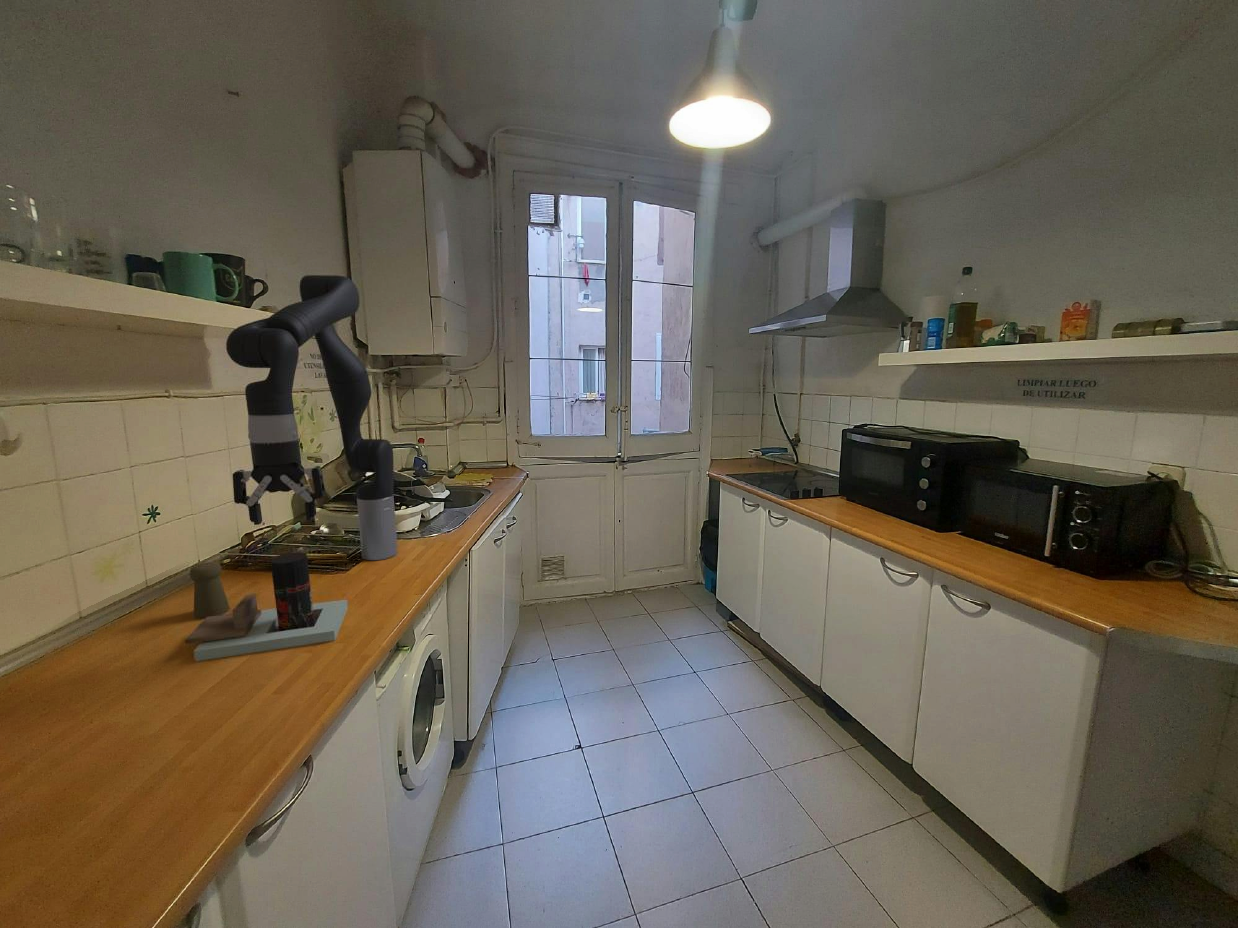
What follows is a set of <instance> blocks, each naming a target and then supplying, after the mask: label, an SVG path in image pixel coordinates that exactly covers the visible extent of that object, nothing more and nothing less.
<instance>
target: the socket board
mask: <svg viewBox="0 0 1238 928" xmlns="http://www.w3.org/2000/svg"><path fill="white" fill-rule="evenodd" d="M312 607H313V616H314V627H308V628H301V629H294V630H287V631H280V632H279V626H278V618H277V610H276V608H270V609H264V610H263V609H260V610H261V613H262V614H261V615H260V616H259V618H258V619H257V620H256V622H255V623H254V624H253V626H252V627H251V628H250V630H249V631H248V632H247V634H246V635H245V636H239V637H231V638H224V639H217V640H210V641H203V642H199V644H198V646H196V648H195V649H194V650H193V656H194V662H201V661H205V660H206V661H207V660H213V659H220V658H221V659H222V658H226V657H232V656H240V655H247V654H252V653H253V654H254V653H260V652H266V651H274V650H279V649H285V648H293V647H299V646H307V645H312V644H320V643H327V642H333V641H336V640H337V636H338V634H339V631H340V628H341V626H342V624H343V621H344V619H345V617H346V614H347V611H348V608H349V607H348V599H343V600H334V601H326V602H317V603H312Z"/></svg>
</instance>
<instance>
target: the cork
mask: <svg viewBox="0 0 1238 928" xmlns="http://www.w3.org/2000/svg"><path fill="white" fill-rule="evenodd" d="M222 572H223V569H222V566H221V564H220V563H219V562H218V561H217V562H216V561H206V562H205V561H204V562H201V563H197V564H195V565H194V566H192V567H191V568H190V570H189V577H190V579H191V580H192V581H193V582H194V583H193V584H194V585H193V587H194V592H193V618H194V619H195V620H204V619H205V618H206V617H209V616H217V615H225V614H227V613H228V612H229V611H230V609H231V607H230V605H229V602H228V599H227V596H226V593H225V590H224V587H223V583H222V581H221V577H220V576H221V575H222Z"/></svg>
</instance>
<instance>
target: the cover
mask: <svg viewBox="0 0 1238 928" xmlns="http://www.w3.org/2000/svg"><path fill="white" fill-rule="evenodd" d="M261 610H262V609H259V608H258V600H257V593H252V594H246V595H245V596H244V597H243V598H242V599H241V600H240V601H239V602H238V604H237V605H236V606H235V607H234V608H233V609H232V610H231V611H232V612H231V613H224V614H222V615H217V616H209V617H206V618H205V619H202V622H200V624H198V626H197V627H196V628H195V629H193V631H192V632H191V633H190V634H189V635H188V636H187V637H186V638H185V639H184V643H185V644H187V645H188V644H195V643H201V642H203V641H210V640H217V639H224V638H231V637H239V636H245V635H246V634H247V632H248V631H249V630H250V628H251V627H252V626H253V624H254V623H255V622H256V620H257V619H258V618H259V616H260V615H261V614H262V613H261Z"/></svg>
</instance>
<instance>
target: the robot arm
mask: <svg viewBox="0 0 1238 928" xmlns="http://www.w3.org/2000/svg"><path fill="white" fill-rule="evenodd" d="M299 293H300V294H299V296H300V299H301V301H297V302H295V303H291V304H288V305H287V306H285V307H283V308H281V309H278V310H277V311H276V312H274V313H273V314H272V315H270V316H269V317H266V318H262V319H258V320H255V321H251V322H247V323H245V324H243V325H241V326H238V327H236V328H235V329H233V330H232V331H231V332H230V333H229V335H228V336H227V339H226V343H225V348H226V353H227V355H228V357H229V358H230V359H231V360H232V362H234V363H235V364H237V365H238V366H240V367H243V368H247V369H248V368H249V369H269V372H268V375H267V377H266V378H265V379H262V380H258V381H253V382H250V383H248V384H247V385H246V387H245V388H244V391H245V392H244V393H245V401H246V408H247V409H246V410H247V417H248V418H247V420H248V421H247V431H248V432H247V433H248V434H247V437H248V440H249V446H250V454H251V462H252V470H244V469H238V470H237V471H235V472H233V473H232V483H233V484H232V486H233V487H232V489H233V502H234V503H235V504H238V505H239V504H242V505H245V506H247V509H248V516H249V521H250V522H251V523H253V525H254V526H260V525H261V524H262V523H263V516H262V515H263V514H262V507H261V503H259V500H261V498H262V497H263V496H264V494H265V493H266V492H268V493H270V494H271V493H272V494H273V493H277V492H281V493H282V492H283V493H285V492H286V493H287V492H290V491H293V492H295V494H296V495H299V496H300V497H301V498H302V499H303V500H304V501H305V502H304V509H305V516H306V518H305V519H306V521H307V522H308V521H310V522H311V521H312V520H313V519H314V518H315V517H316V515H317V505H316V500H317V499H321V498H323V497H324V496H325V494H326V488H325V487H326V486H325V483H324V476H323V471H322V467H321V466H320V465H316V466H314V467H307V468H305V467H303V464H302V458H301V456H302V455H301V448H300V440H299V431H298V430H299V429H298V424H297V419H296V417H295V409H294V407H295V406H294V399H293V389H294V380H295V375H296V369H297V366H298V362H299V355H300V354H299V353H300V351H299V349H300V347H302V346H303V345H304V344H306V342H308V341H309V340H310V339H311V338H313V337H314V338H315V341H316V344H317V348H318V351H319V353H320V356H321V357H320V358H321V361H322V364H323V367H324V372H325V377H326V381H327V385H328V388H329V391H330V395H331V398H332V400H333V404H334V409H335V411H336V415H337V419H338V422H339V423H338V424H339V427H340V432H341V434H340V435H341V438H342V439H341V440H342V445H343V450H344V451H343V452H344V457H345V460H346V463H347V466H348V467H349V469H350V470H351V471H352V472H355V473H371V474H372V473H374V479H373V480H372V481H370V482H367V483H365V484H364V483H363V484H361V485H359V486H358V487H357V488H356V491H355V492H356V503H357V504H356V505H357V515H358V525H359V526H358V529H359V537H360V539H359V540H360V549H361V559H363V560H367V561H380V560H386V559H389V558H392V557H394V556H396V555H397V554H398V538H397V537H398V535H397V526H396V525H397V524H396V510H395V509H396V508H395V499H394V486H395V476H394V474H395V473H394V451H393V450H394V449H393V446H392V444H391V442H390V441H389V440H387V439H384V438H363V436H362V432H361V421H362V418H363V415H364V414H365V411H366V409H367V408H368V405H369V404H370V400H371V397H372V387H371V383H370V379H369V374H368V370H367V367H366V366H365V364H364V363H363V362H362V361H361V359H360V358H359V357H358V356H357V355H356V353H355V352H354V351H353V350H352V349H351V348H350V347H349V346H348V345H347V344H346V343H345V342H344V341H343V340H342V339H341V337H340V335H339V333H338V332H337V330H336V328H335V326H334V324H335V323H338V322H339V321H342V320H344V319H347V318H351V316H352V317H353V316H354V315H355V314H356V313H357V312H358V310H359V307H360V302H361V301H360V294H359V293H360V292H359V291H358V288H357V285H356V283H355V282H354V281H353V280H352V279H350V278H349V277H346V276H344V275H336V274H335V275H334V274H333V275H329V274H328V275H325V274H324V275H320V274H317V275H316V274H311V275H310V274H309V275H304V276H302V277H301V279H300V282H299ZM305 475H307V477H308V479H310V480H312V483H313V489H314V492H313V491H312V490H311V489H310V488H309V487H308V486H307V485H306V484H305V482H304V481H302V479H303V477H304V476H305ZM250 478H251V479H253V480H254V481H255V482H256V483H257V484H258V485H257V486H256V488H255V489H254V490H253V492H252V493H251V495H250V496H249V495H247V482H249V481H250Z"/></svg>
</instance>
